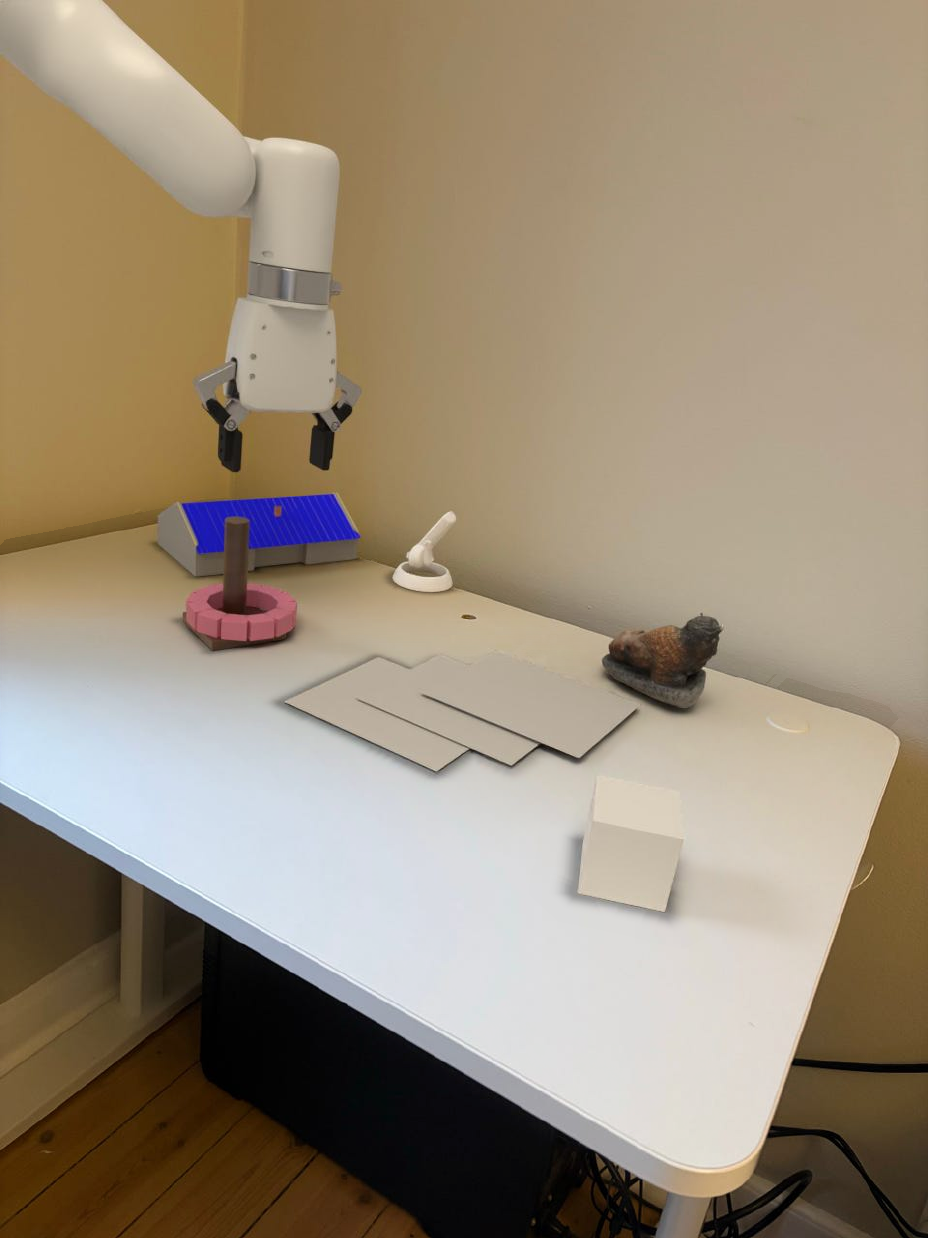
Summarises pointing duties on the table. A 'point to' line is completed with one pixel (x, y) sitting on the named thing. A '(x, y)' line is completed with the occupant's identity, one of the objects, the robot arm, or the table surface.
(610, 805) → the off-white cube
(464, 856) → the table surface
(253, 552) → the roof
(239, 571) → the stand
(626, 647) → the bison figurine
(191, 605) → the ring
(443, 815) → the table surface
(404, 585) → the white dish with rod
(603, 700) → the paper stack
